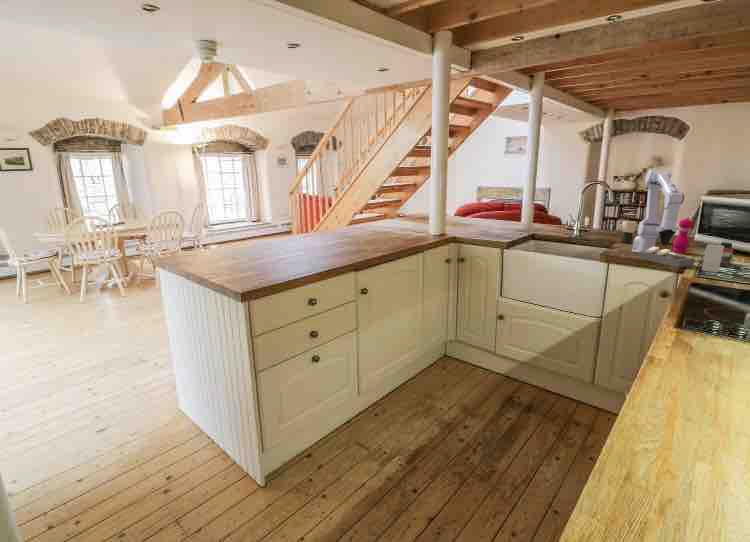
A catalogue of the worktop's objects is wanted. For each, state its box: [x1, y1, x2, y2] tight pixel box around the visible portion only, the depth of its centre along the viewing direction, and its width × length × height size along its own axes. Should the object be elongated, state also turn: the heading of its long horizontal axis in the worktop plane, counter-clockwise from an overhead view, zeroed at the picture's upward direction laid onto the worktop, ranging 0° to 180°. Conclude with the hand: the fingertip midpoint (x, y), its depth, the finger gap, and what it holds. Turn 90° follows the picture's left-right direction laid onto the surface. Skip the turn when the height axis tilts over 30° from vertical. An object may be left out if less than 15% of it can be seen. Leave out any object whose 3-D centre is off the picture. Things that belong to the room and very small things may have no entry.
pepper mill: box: [672, 215, 693, 254], centre depth 225 cm, size 7×7×20 cm
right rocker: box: [669, 251, 683, 257], centre depth 198 cm, size 3×6×1 cm, turn 115°
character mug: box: [618, 220, 639, 244], centre depth 250 cm, size 11×7×13 cm, turn 80°
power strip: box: [636, 250, 696, 269], centre depth 204 cm, size 20×12×4 cm, turn 25°
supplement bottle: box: [720, 241, 734, 268], centre depth 199 cm, size 6×6×11 cm
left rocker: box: [646, 246, 660, 253], centre depth 208 cm, size 3×6×1 cm, turn 115°
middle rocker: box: [657, 248, 672, 255], centre depth 203 cm, size 3×6×1 cm, turn 115°
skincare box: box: [701, 243, 724, 273], centre depth 188 cm, size 6×4×12 cm
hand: (664, 245), depth 202 cm, fingers closed
